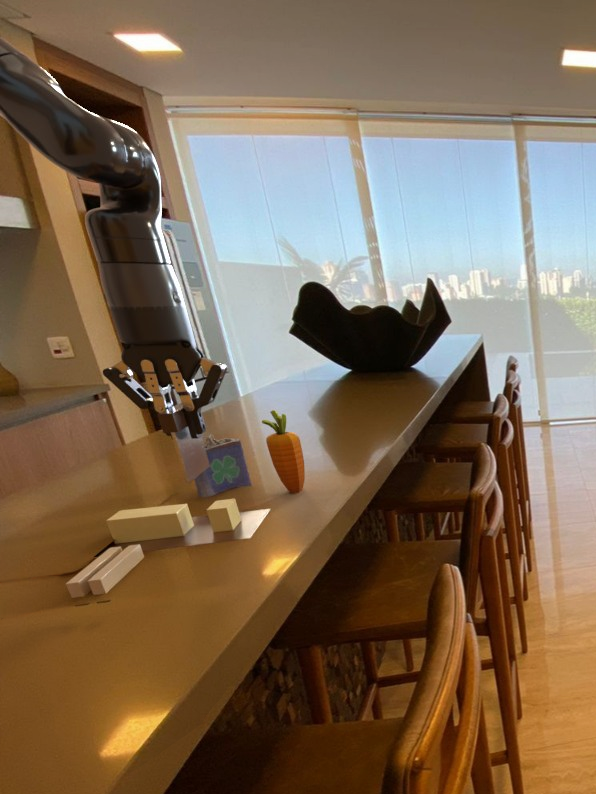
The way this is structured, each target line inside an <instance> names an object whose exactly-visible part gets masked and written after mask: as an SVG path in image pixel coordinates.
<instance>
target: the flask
mask: <svg viewBox="0 0 596 794" xmlns="http://www.w3.org/2000/svg"><path fill="white" fill-rule="evenodd" d="M202 439H205V442H204V444H206V445H204V447H205V450H206V454H207V457H208V460H209V464H210V467H208V468H207V469H206V470H205V471H203V472H202V473H201V474H200V475H199V476H197V477H196V478H195V479H194V480H193V481H194V483H195V487H196V490H197V494H198V498H209V497H213V496H215V495H218V494H220V493H222V492H225V491H227V490H230V489H233V488H234V489H235V488H242V487H243V488H245V487H252V486H253V485H252V481H251V478H250V473H249V469H248V464H247V461H246V457H245V453H244V449H243V447H242V446H243V445H242V441H241V440H240V439H239V438H221V439H215V436H214V435H213V434H210V433H207V434H205V435H203V436H202Z"/></svg>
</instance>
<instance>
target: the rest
mask: <svg viewBox="0 0 596 794" xmlns="http://www.w3.org/2000/svg"><path fill="white" fill-rule="evenodd" d="M144 558H145V555H144V551H143V552H142V549H141V546H140V544H137V545H129V546H128V547H127V548H125V549H124V550H123V551H122V548H121V547H112V548H109V549H108V550H106V551H105V552H104V553H103V554H102V555H100V556H99V557H96V558H95V559H94V560H92V562H91V563H89V564H88V565H86V566H85V567H84V568H83V569H82V570H81V571H79V572H78V573H77V574H76V575H75V576H73V577H72V578H70V579H69V580H68V581H67V582H65V585H66V586H65V587H66V589H67V590H68V593H69V595H70V598H71V599H74V598H75V599H76V598H82V597H86V596H87V595H88V594H89V593H90V592H91V593H92V595H93V596H96V595H106V594H107V593H108V592H110V591H111V590H112V589H113V588H114V586H116V585H117V584H118V583H119V582H121V580H122V579H124V578H125V576H127V574H128V573H129V572H130V571H132V570H133V569H134V568H135V567H136V566H137V565H138V564H139V563H140V562H141V561H142V560H143V559H144ZM111 601H112V600H111V599H108V600H101V601H96V604H103V603H110V602H111ZM90 604H91V602H86V603H79V604H75V605H74V607H83V606H89V605H90Z"/></svg>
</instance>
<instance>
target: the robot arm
mask: <svg viewBox="0 0 596 794" xmlns="http://www.w3.org/2000/svg"><path fill="white" fill-rule="evenodd" d="M0 117H2V118H3V119H5V121H6V122H7V123H8V124H9V125H10V126H11V127H12V128H13V129H14V130H15V131H16V132H17V133H18V134H19V135H20V136H21V137H22V138H23V139H24V140H25V141H26V142H27V143H28V144H29V145H31V147H32V148H34V149H35V150H36V151H37V152H38V153H39V154H40V155H42V156H43V157H44V159H47V160H48V161H49V162H50V163H52V164H54V165H55V166H56V167H58V168H60V169H61V170H63V171H65V172H66V173H69V174H70V175H72V176H73V177H76V178H79V179H81V180H84V181H86V182H91V183H96V184H98V187H99V198H100V207H96V208H92V209H90V210H88V211H87V212H86V213H85V215H84V223H85V228H86V231H87V235H88V238H89V241H90V244H91V248H92V251H93V253H94V257H95V260H96V263H97V267H98V273H99V278H100V283H101V287H102V290H103V297H104V300H105V302H106V303H107V306H108V309H109V313H110V315H111V319H112V321H113V325H114V328H115V331H116V334H117V337H118V340H119V342H120V345H121V346H122V351H121V355H120V359H121V360H120V361H119V362H117V363H115V364H114V365H112V366H110V367H107V368H104V369H102V375H103V376H104V377H105V378H106V379H107V380H108V381H109V382H110V383H112V384H113V385H114V386H115V387H116V388H117V389H118V390H119V392H121V393H122V394H123V395H125V396H126V397H127V398H128V399H129V400H130V401H131V402H132V403H133V404H135V406H136V407H138V408H139V409H141V410H146V409H147V410H151V411H155V412H156V413H157V415H158V414H159V413H161V412H163V411H165V410H167V409H169V408H171V407H174V401H173V397H172V394H171V392H172V387H171V386H173V387H174V390H175V392H176V394H177V395H178V397H179V399H180V403H182V405H183V408H184V409H185V410H186V412H184V414H185V418H186V421H187V424H188V429H189V432H190V436H191V438H192V439H198V438H200V437H204V435H203V434H204V433H205V432H206V430H207V427H206V423H205V420H204V416H203V412H202V408H203V407H206V406H208V405H211V404H212V403H214V402H215V400H216V397H217V395H218V392H219V391H220V388H221V385H222V384H223V380H224V379H225V376H226V373H227V371H228V365H227V364H226V363H224V362H216V361H213V360H211V359H208V358H206V357H205V355H204V353H203V351H201V349H200V348H199V347H198V346H197V343H196V339H195V334H194V331H193V328H192V324H191V320H190V317H189V313H188V310H187V306H186V303H185V299H184V295H183V291H182V288H181V285H180V282H179V279H178V277H177V275H176V272H175V270H174V267H173V265H172V262H171V257H170V254H169V250H168V247H167V243H166V238H165V236H164V233H163V230H162V212H163V211H162V210H163V209H162V207H163V206H162V182H161V175H160V170H159V166H158V163H157V161H156V158H155V156H154V153H153V152H152V150H151V148H150V146H149V145H148V144H147V141H145V139H144V138H143V137H142V136H141V135H140V134H139V133H138V132H137V131H135V130H134V129H133V128H131V127H129V126H128V125H125V124H123V123H120V122H117V121H116V120H112V119H109V118H106V117H104V116H101V115H98V114H97V113H96V114H95V113H94V112H90V111H88V110H87V109H85V108H83V107H82V106H80V105H79V104H77V103H76V102H75V101H73V100H72V99H70V98H68V97H67V96H66V95H65V94H64V91H63V90H62V88H61V86H60V84H59V83H58V82H57V81H56V79H55V78H53V76H51V74H50V73H48V72H47V70H45V69H44V68H42V66H40V65H39V64H38V63H36V62H35V61H34V60H32V59H31V58H30V57H28V55H26V54H25V53H23V52H22V51H21V50H19V49H18V48H17V47H15V45H13V44H11V43H10V42H9V41H8V40H6V39H4V38H3V37H2V36H0ZM201 367H202V374H203V375H204V376H205V377H206V378H205V381H204V383H203V386H202V388H201V391H200V393H199V394H198V391H197V389H198V388H197V385H196V382H195V377H196V375H197V374H198V372H199V370H200V368H201ZM134 373H135V374H136V375H137V376H138V377H140V378H141V379H142V380H143V381H145V383H146V386H147V390H148V391H147V390H146V389H145V388H144V387H143V386H142V385H141V384H140V383H139V382H137V381H136V380H135V378H134ZM165 435H166V436H167V437H170V438H171V440H172V441H173V438H172V435H171V433H165Z"/></svg>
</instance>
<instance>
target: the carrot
mask: <svg viewBox="0 0 596 794" xmlns="http://www.w3.org/2000/svg"><path fill="white" fill-rule="evenodd" d="M270 414H271V416H272V418H273V419H274V422H272V421H270V420H267V419H263V420H261V424H262V425H263V424H264V425H267V426H269V427H270V428H271V429H273V431H274V432H275V433H272V434H269V435H267V437H266V439H265V442H266V446H267V450H268V452H269V456H270V460H271V463H272V465H273V467H274V470H275V472H276V474H277V476H278V478H279V480H280V482H281V483H282V484H283V486H284V488H285V489H286V490H287V491H288V492H289V494H297V493H298V494H299V493H300V492H302V491H303V489H304V486H305V485H304V484H305V475H306V474H305V473H306V471H305V458H304V453H303V448H302V443H301V439H300V438H299V436H298V435H297V434H296V433H295V432H292V431H286V429H287V415H286V414H285V413H281V415H279V413H278V412H277V410H273V409H272V410H271V411H270Z"/></svg>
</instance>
